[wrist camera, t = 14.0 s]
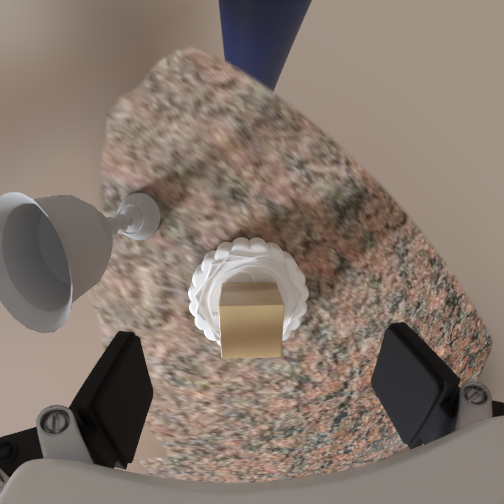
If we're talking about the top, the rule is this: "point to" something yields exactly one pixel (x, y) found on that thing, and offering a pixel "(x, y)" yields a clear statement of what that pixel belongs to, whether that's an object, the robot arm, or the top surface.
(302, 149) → the top surface
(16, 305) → the chalice
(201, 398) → the top surface
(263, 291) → the block
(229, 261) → the mooncake
